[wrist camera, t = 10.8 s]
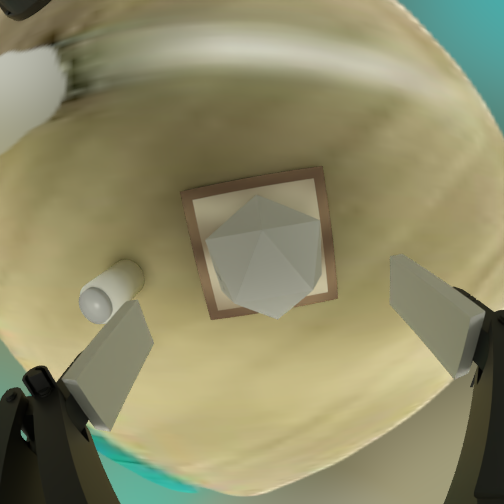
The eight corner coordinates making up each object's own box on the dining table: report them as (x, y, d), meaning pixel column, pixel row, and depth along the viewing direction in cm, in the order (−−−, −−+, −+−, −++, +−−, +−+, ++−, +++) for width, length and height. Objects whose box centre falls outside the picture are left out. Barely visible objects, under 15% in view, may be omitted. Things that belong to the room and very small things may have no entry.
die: (240, 179, 25) (165, 241, 18) (339, 185, 21) (292, 267, 14) (255, 254, 30) (201, 323, 23) (339, 270, 26) (300, 357, 19)
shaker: (108, 262, 28) (69, 288, 21) (138, 256, 28) (103, 283, 20) (118, 295, 29) (85, 329, 22) (148, 291, 29) (119, 326, 21)
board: (184, 190, 26) (179, 191, 25) (318, 166, 25) (322, 166, 24) (212, 313, 29) (210, 320, 28) (334, 292, 29) (338, 299, 27)
